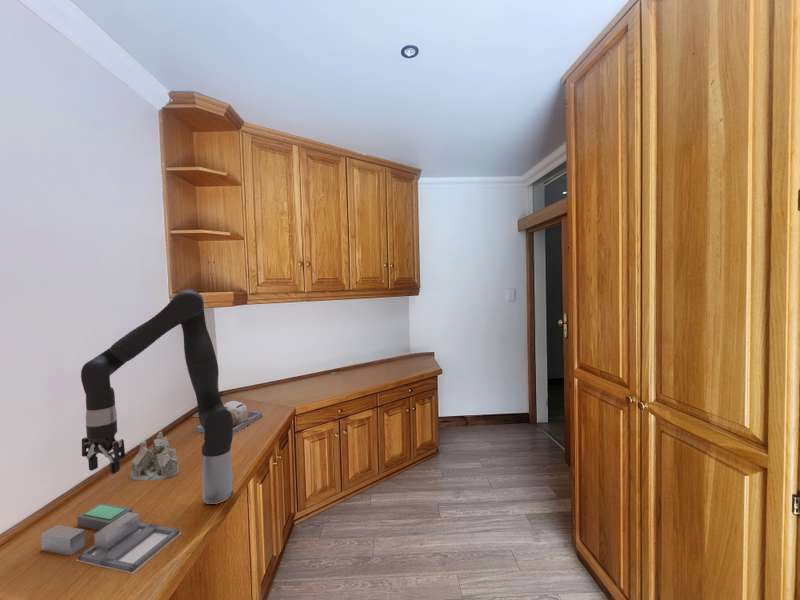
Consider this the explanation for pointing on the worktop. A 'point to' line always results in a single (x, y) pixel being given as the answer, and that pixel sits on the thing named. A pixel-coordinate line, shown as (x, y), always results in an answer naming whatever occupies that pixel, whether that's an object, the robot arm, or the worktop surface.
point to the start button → (104, 512)
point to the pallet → (133, 549)
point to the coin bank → (237, 412)
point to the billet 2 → (116, 533)
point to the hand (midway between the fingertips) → (104, 470)
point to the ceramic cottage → (155, 461)
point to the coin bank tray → (250, 413)
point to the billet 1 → (63, 539)
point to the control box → (99, 523)
